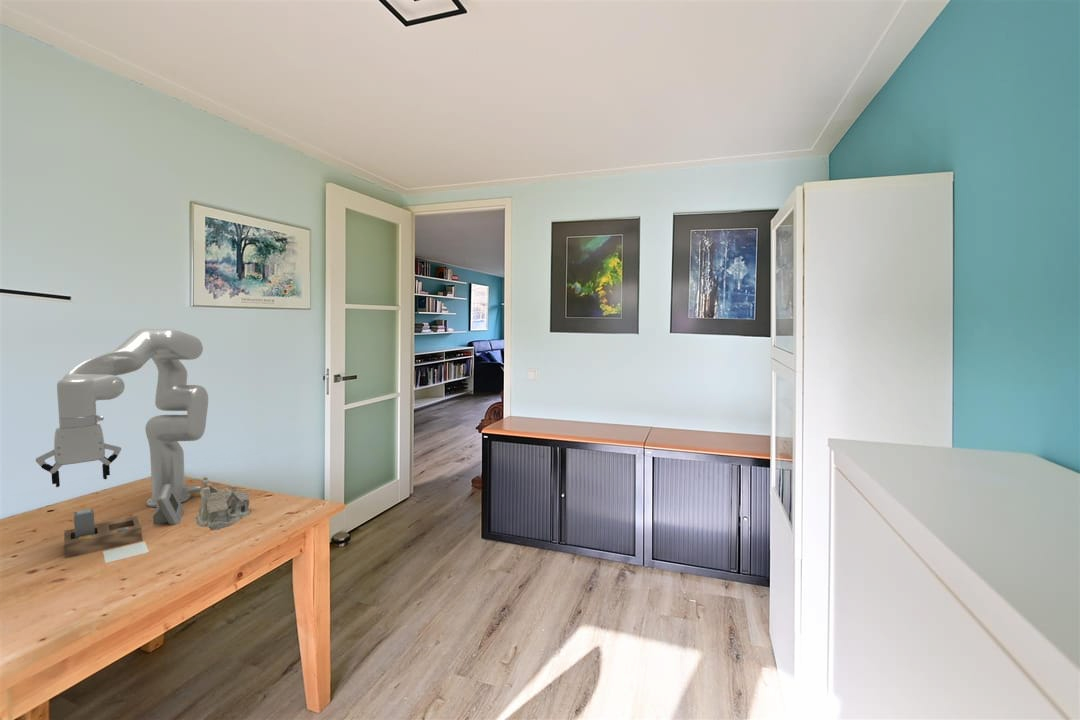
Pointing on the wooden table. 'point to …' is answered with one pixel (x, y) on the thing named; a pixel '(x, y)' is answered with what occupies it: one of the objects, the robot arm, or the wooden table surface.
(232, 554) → the wooden table surface
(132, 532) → the socket block
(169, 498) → the digital clock
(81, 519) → the plug
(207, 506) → the ceramic cottage
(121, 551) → the tray
